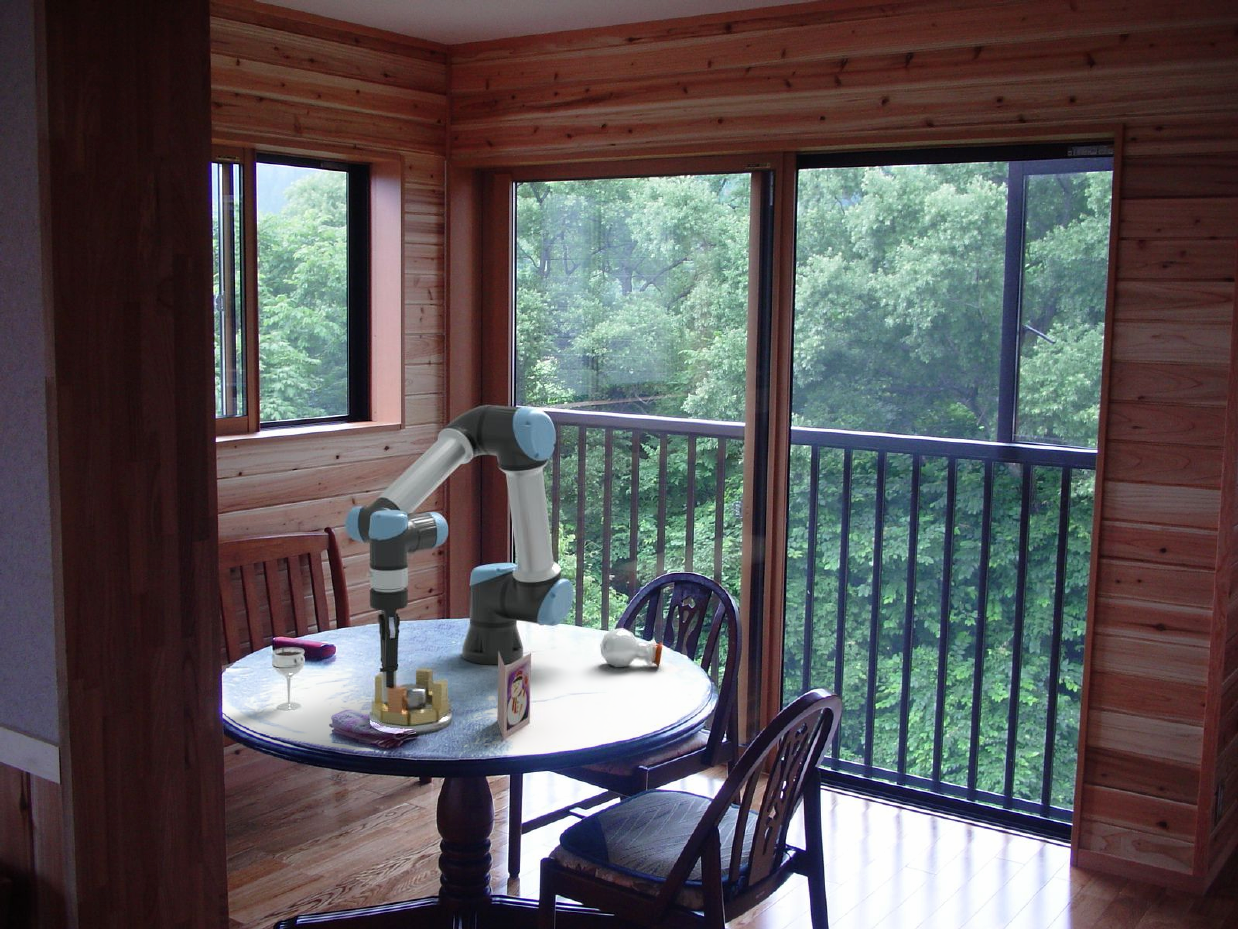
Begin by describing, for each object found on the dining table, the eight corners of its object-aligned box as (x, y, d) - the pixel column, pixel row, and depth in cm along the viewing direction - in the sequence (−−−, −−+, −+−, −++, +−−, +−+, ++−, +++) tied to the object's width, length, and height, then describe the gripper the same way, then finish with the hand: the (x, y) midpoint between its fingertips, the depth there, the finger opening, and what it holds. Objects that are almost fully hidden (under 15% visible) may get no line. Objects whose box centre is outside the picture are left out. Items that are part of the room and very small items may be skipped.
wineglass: (287, 713, 251) (287, 658, 250) (265, 707, 255) (265, 652, 253) (311, 705, 257) (311, 651, 255) (289, 699, 260) (289, 645, 259)
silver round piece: (445, 705, 259) (445, 673, 258) (458, 731, 243) (458, 698, 242) (365, 710, 254) (365, 678, 253) (373, 738, 238) (373, 704, 237)
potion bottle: (596, 669, 294) (656, 678, 294) (598, 656, 285) (660, 665, 285) (601, 634, 298) (661, 643, 298) (603, 620, 290) (664, 629, 289)
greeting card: (507, 740, 239) (508, 667, 237) (475, 734, 242) (476, 662, 240) (533, 723, 249) (534, 653, 248) (502, 717, 252) (503, 648, 250)
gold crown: (394, 697, 258) (394, 664, 257) (458, 705, 254) (459, 672, 253) (361, 719, 243) (361, 685, 242) (428, 728, 239) (429, 693, 238)
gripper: (366, 581, 245) (367, 692, 248) (373, 596, 233) (373, 712, 236) (403, 579, 247) (403, 689, 251) (411, 594, 235) (412, 709, 238)
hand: (389, 700), depth 243 cm, fingers closed
